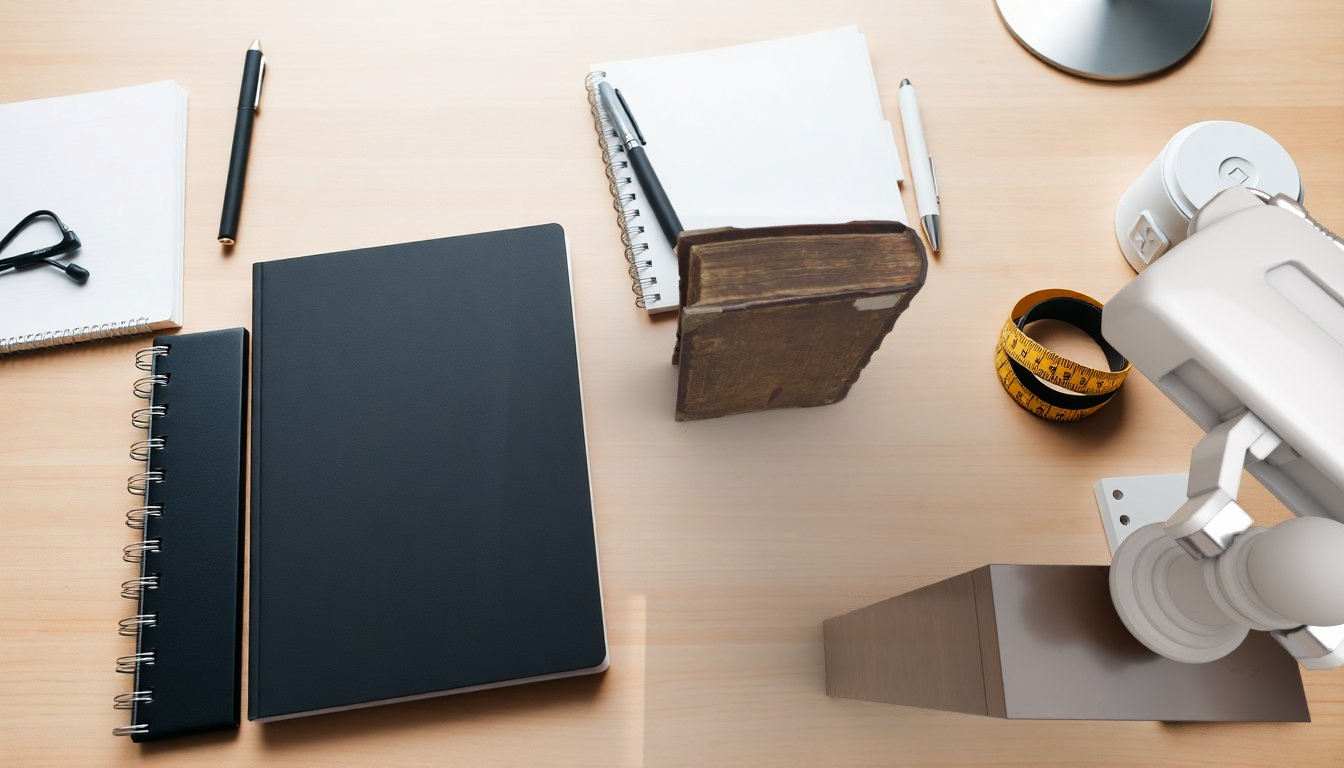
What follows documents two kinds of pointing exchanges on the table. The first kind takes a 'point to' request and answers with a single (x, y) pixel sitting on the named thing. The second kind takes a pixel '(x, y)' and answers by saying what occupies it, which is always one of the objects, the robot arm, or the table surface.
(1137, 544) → the chess piece
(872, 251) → the book
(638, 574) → the table surface
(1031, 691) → the brushed taupe box
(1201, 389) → the robot arm
